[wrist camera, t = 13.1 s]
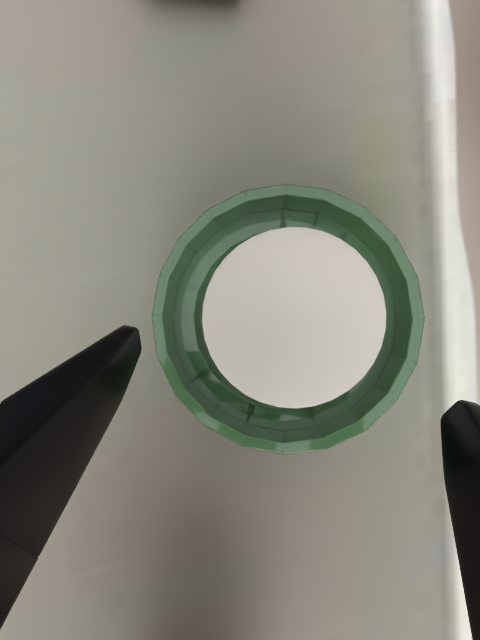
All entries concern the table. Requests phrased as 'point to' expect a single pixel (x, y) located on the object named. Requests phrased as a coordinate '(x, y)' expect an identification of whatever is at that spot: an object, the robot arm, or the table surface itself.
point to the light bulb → (294, 317)
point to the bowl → (191, 349)
